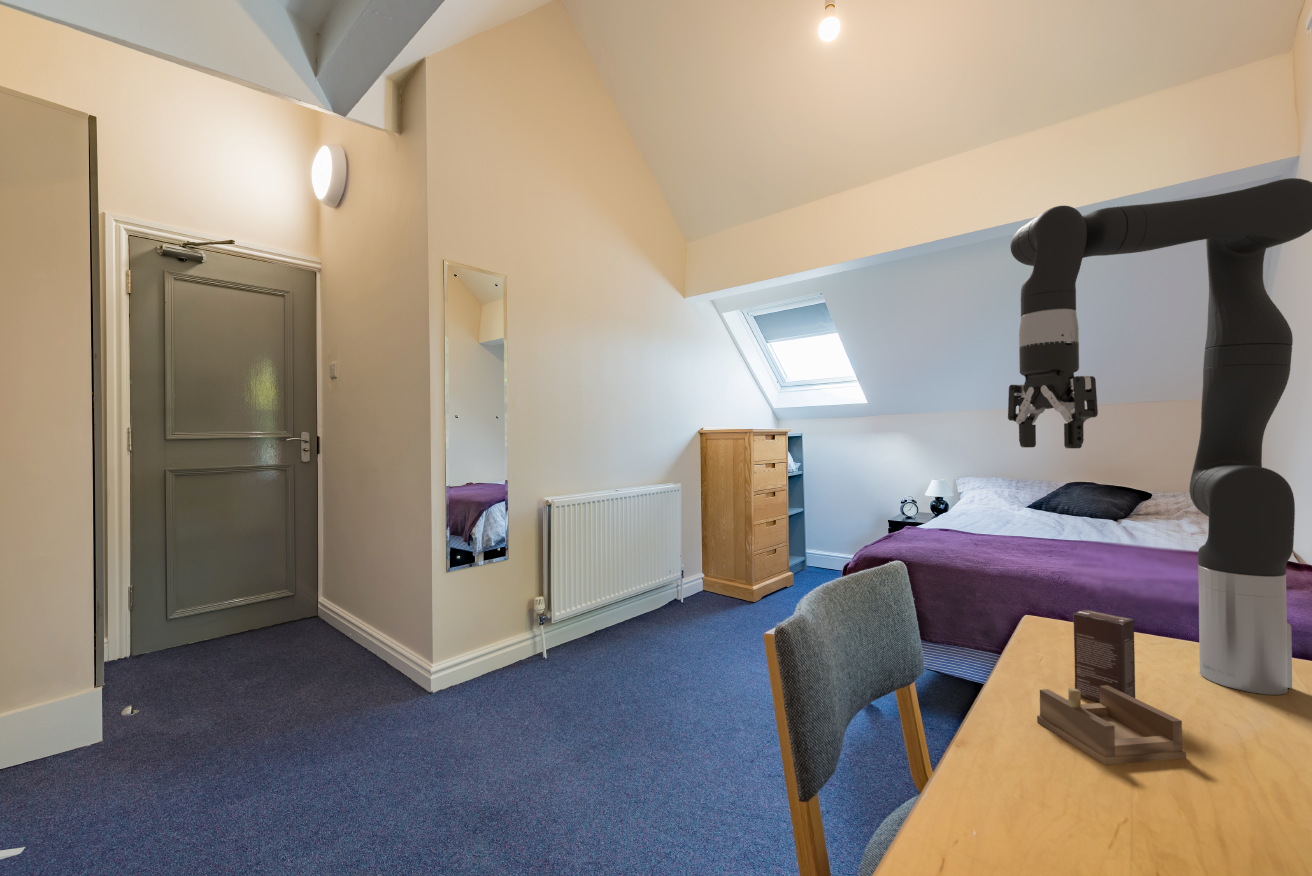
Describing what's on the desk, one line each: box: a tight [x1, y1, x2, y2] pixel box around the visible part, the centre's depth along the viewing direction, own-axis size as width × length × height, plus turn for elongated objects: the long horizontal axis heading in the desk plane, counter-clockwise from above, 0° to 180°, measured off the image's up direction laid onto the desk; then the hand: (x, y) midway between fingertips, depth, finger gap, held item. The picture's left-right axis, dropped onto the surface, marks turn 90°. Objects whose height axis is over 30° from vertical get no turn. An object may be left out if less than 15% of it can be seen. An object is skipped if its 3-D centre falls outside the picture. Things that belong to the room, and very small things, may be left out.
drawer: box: [1036, 685, 1187, 766], centre depth 69 cm, size 10×10×6 cm
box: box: [1072, 609, 1136, 703], centre depth 79 cm, size 6×4×12 cm
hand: (1049, 447), depth 85 cm, fingers open, 8 cm apart
